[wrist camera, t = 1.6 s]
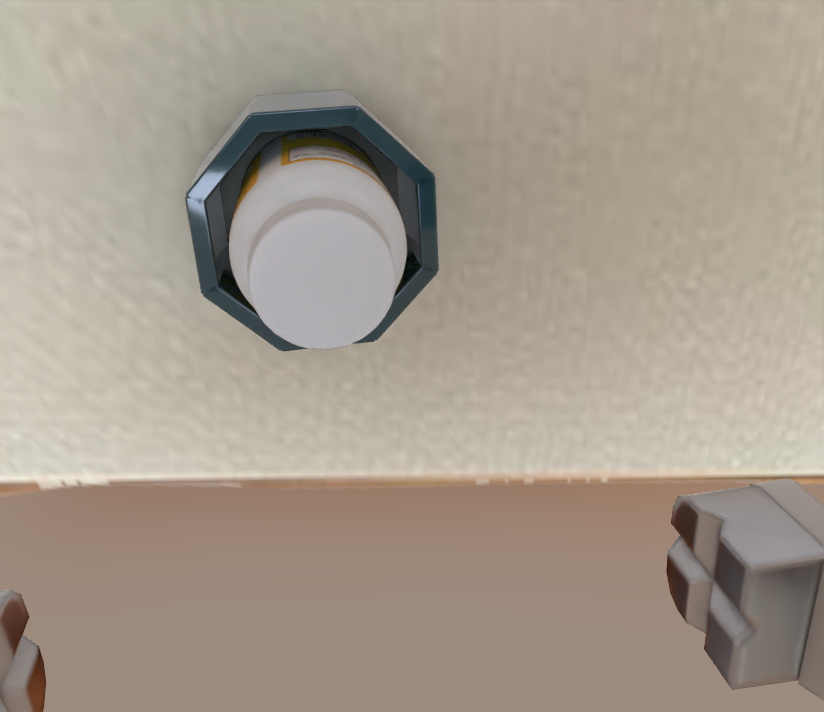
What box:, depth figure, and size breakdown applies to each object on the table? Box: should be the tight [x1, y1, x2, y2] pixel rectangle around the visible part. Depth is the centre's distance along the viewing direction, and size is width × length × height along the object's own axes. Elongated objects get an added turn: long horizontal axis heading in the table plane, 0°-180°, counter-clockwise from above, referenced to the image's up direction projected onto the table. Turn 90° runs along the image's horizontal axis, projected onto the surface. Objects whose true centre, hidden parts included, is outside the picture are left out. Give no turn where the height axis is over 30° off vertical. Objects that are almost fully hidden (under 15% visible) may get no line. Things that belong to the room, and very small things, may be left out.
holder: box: [185, 90, 439, 351], centre depth 27 cm, size 8×8×5 cm
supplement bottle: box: [229, 129, 407, 350], centre depth 25 cm, size 5×5×10 cm
